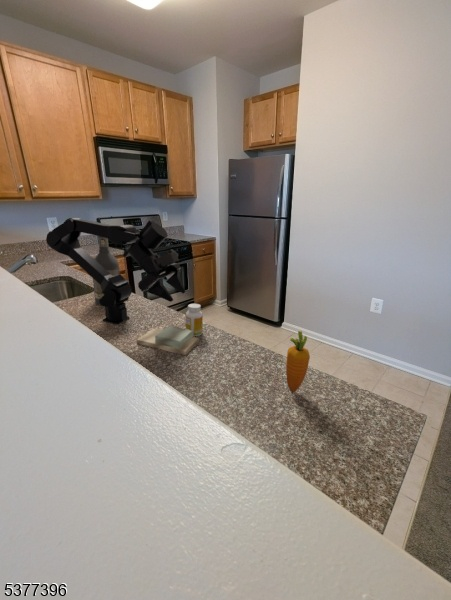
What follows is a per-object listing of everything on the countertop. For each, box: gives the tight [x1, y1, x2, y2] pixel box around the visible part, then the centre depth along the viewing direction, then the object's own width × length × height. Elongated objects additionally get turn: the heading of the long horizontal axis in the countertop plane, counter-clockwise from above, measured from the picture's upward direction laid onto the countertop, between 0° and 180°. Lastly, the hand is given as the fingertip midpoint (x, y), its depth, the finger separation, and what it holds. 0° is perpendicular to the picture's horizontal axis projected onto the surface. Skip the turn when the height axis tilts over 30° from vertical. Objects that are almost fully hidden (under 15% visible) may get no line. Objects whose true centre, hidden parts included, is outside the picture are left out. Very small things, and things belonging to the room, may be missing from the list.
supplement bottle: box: [185, 303, 203, 337], centre depth 88 cm, size 5×5×10 cm
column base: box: [136, 325, 200, 356], centre depth 82 cm, size 16×9×4 cm, turn 70°
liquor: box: [92, 236, 120, 307], centre depth 108 cm, size 9×9×30 cm
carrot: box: [285, 330, 311, 393], centre depth 61 cm, size 5×5×15 cm
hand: (178, 296), depth 87 cm, fingers open, 9 cm apart
